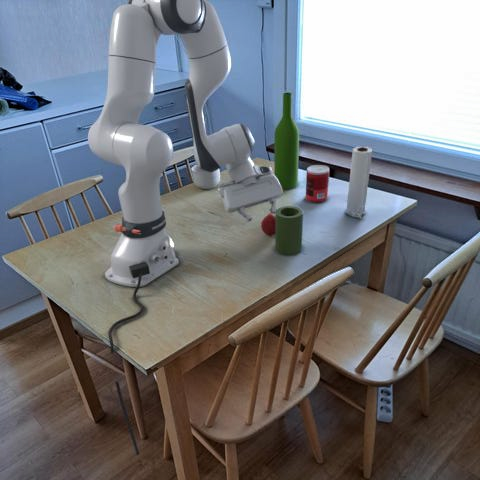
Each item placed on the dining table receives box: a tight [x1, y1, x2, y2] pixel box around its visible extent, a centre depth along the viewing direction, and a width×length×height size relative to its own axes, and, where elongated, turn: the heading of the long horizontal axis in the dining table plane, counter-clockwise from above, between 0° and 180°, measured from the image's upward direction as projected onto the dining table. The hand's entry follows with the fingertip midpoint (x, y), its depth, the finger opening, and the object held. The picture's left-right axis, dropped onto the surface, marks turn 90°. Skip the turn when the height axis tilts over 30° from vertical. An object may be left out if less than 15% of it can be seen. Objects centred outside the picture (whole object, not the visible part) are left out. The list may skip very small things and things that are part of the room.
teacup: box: [190, 163, 221, 190], centre depth 180 cm, size 14×11×8 cm
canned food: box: [305, 164, 330, 204], centre depth 164 cm, size 8×8×11 cm
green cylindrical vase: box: [275, 205, 304, 256], centre depth 136 cm, size 8×8×12 cm
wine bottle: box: [273, 92, 300, 190], centre depth 168 cm, size 9×9×32 cm
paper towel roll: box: [345, 146, 373, 220], centre depth 150 cm, size 7×6×21 cm
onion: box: [260, 211, 276, 237], centre depth 144 cm, size 6×6×8 cm
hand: (262, 216), depth 147 cm, fingers open, 8 cm apart
